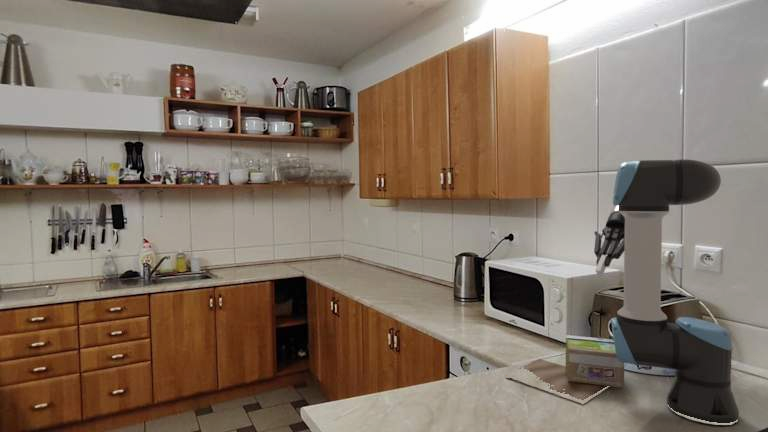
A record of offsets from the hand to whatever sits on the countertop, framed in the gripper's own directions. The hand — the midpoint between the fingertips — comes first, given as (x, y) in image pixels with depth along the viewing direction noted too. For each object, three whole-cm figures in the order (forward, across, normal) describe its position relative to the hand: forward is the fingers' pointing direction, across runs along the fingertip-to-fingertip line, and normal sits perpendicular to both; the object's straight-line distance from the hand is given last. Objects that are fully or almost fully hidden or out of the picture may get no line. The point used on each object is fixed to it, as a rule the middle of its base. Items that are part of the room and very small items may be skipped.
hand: (599, 273), depth 149 cm
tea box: (+22, -1, -12) cm, 25 cm away
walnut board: (+37, +2, -6) cm, 37 cm away
